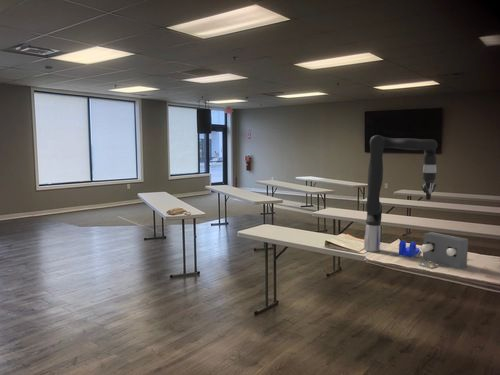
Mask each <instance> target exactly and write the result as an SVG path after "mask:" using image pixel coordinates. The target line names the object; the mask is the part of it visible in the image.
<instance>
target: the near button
mask: <svg viewBox="0 0 500 375" xmlns="http://www.w3.org/2000/svg"><path fill="white" fill-rule="evenodd" d="M456 251H457V248H448V249H447V251H446V252H447V254H448V255H449V256H453V255H456Z"/></svg>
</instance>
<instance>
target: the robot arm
mask: <svg viewBox="0 0 500 375" xmlns="http://www.w3.org/2000/svg"><path fill="white" fill-rule="evenodd" d="M369 149H370V155H369V156H370V158H369V163H368V170H367V197H366V203H365V211H366V220H365V234H364V236H363V237H364V242H363V245H364V246H363V249H364V250H365V251H366V252H370V253H371V252H372V253H373V252H374V253H375V252H376V253H377V252H380V250H381V229H382V228H381V227H382V226H381V225H382V211H383V205H382V203H381V202H380V194H381V190H382V189H381V188H382V184H383V179H384V164H383V163H384V161H383V154H384V149H399V150H406V151H407V150H408V151H409V150H410V151H423V154H424V156H423V167H422V180H424V181H423V184H422V185H421V189H422V191H423V193H425V200H428V201H429V200H430V201H431V198H432V193H434V191H435V189H436V187H437V184H436V183H435V180H436V179H437V155H436V152H437V150H436V149H438V142H437V141H436V140H435V139H426V138H424V139H421V138H420V139H419V138H411V137H410V138H406V137H405V138H404V137H403V138H395V137H394V138H392V137H386V136H382V135H380V134H376V135H373V136H371V137H370V140H369Z"/></svg>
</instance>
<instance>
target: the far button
mask: <svg viewBox="0 0 500 375" xmlns="http://www.w3.org/2000/svg"><path fill="white" fill-rule="evenodd" d="M423 244H424V243H423ZM423 244H422V245H421V246H420V249H421V252H422V253H423V252H427V251H430V250H434V246H435V244H434V243H429V244H424V245H423Z"/></svg>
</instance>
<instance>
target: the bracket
mask: <svg viewBox="0 0 500 375" xmlns="http://www.w3.org/2000/svg"><path fill="white" fill-rule="evenodd" d="M420 249H421V248H419V247H417V243H416V241H410V243H409V245H408V246H407V241H406V240H402V239H401V240H400V241H399V245H398V256H401V257H403V256H404V257H407V256H408V258H414V257H415V256H417V255H418V254H419V253H420ZM413 256H414V257H413Z"/></svg>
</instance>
